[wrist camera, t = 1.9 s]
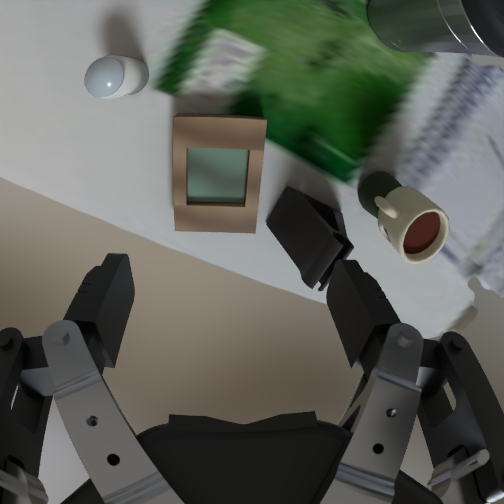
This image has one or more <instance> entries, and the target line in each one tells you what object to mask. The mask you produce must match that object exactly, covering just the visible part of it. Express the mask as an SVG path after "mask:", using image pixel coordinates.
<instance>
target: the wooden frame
mask: <svg viewBox="0 0 504 504" xmlns="http://www.w3.org/2000/svg"><path fill="white" fill-rule="evenodd" d="M266 125H267V120H266V119H265V118H264V117H257V116H242V115H221V114H177V115H176V116H174V117H173V193H174V221H175V231H193V232H230V233H255V231H256V222H257V212H258V202H259V193H260V183H261V173H262V164H263V154H264V144H265V135H266Z"/></svg>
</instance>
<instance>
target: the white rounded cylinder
mask: <svg viewBox="0 0 504 504" xmlns="http://www.w3.org/2000/svg"><path fill="white" fill-rule="evenodd" d="M148 79H149V70H148V67H147V66H146V64H145V63H144V62H143V61H141V60H138V59H134V58H129V57H123V56H118V55H109V56H105V57H103V58H100V59H97V60H96V61H94V62H93V63H92V64H91V65H90V66H89V68H88V69H87V71H86V74H85V80H84V81H85V87H86V89H87V91H88V92H89V93H90V94H91V95H93V96H95V97H98V98H101V99H112V98H116V97H121V96H127V95H132V94H135V93H138V92H139V91H141V90H142V89H143V88H144V87H145V85H146V84H147V82H148Z"/></svg>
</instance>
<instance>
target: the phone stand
mask: <svg viewBox="0 0 504 504" xmlns="http://www.w3.org/2000/svg"><path fill="white" fill-rule="evenodd" d="M266 225H267V226H268V228H269V229H270V230H271V232H272V233H273V234H274V236H275V237H276V238H277V240H278V241H279V243H280V244H281V245H282V247H283V248H284V249H285V251H286V252H287V253H288V255H289V256H290V258H291V259H292V260H293V262H294V263H295V264H296V266H297V267H298V269H299V271H300V273H301V278H302V280H303V282H304V283H305V284H306V285H307V286H308V287H310V288H311V289H313V288H314V286H315V285H316V283H317V282H318V281H319V282H320V283H321V286H320V287H319V289H318V290H319V291H323V289H324V288H325V287H326V286H327V284H328V283H329V282H330V279H331V276H332V272H333V269H334V265H335V263H336V261H337V260H346V258H347V257H348V255H349V254H350V253H351V251H352V250H353V248H354V246H353V244H352V243H351V242H350V241H349V239H348V237H347V234H346V229H345V224H344V219H343V215H342V213H341V212H340V211H338V210H336V209H334V208H332V207H330V206H328V205H326V204H324V203H322V202H320V201H318V200H315V199H314V198H312V197H310V196H308V195H305V194H303V193H301V192H299V191H297V190H295V189H293V188H290V187H288V186H287V188H286V190H285V191H284V193H283V195H282V197H281V198H280V200H279V202H278V204H277V206H276V207H275V209H274V211H273V213H272V215H271V216H270V218H269V220H268V222H267V224H266Z"/></svg>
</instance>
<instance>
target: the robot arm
mask: <svg viewBox="0 0 504 504" xmlns="http://www.w3.org/2000/svg"><path fill="white" fill-rule="evenodd" d="M367 13H368V19H369V22H370V25H371V27H372V29H373V31H374V33H375V34H376V35H377V36H378V38H379V39H380V40H381V41H382V42H383V43H384V44H386V45H387V46H389V47H390V48H392V49H394V50H397V51H400V52H450V53H467V54H478V55H488V56H496V57H503V58H504V0H370V2H369V5H368V12H367ZM134 295H135V289H134V282H133V277H132V272H131V267H130V261H129V257H128V255H127V254H115V253H108V254H107V256H106V258H105V259H104V261H103V263H102V265H101V266H95V267H94V268H93V269H92V270H91V271H89V272H88V273H87V274H86V276H85V278H84V280H83V282H82V285H80V287H79V289H78V293H76V295H75V297H74V299H73V301H72V302H71V305H70V306H69V308H68V310H67V313H66V314H65V317H64V319H63V320H60V321H57V322H55V323H53V324H51V325H50V326H49V327H48V328H47V329H46V330H45V331H44V333H43V336H38V337H30V338H24V337H23V336H22V334H21V332H20V331H19V330H18V329H16V328H5V329H3V330H1V331H0V504H47V503H48V496H47V494H46V491H45V488H44V486H43V484H42V482H41V481H40V480H39V479H38V475H39V466H40V459H41V452H42V446H43V440H44V435H45V430H46V425H47V420H48V415H49V411H50V406H51V402H52V398H53V395H54V399H55V402H56V405H57V407H58V409H59V413H60V415H61V418H62V420H63V423H64V425H65V427H66V430H67V432H68V434H69V437H70V439H71V441H72V443H73V445H74V447H75V450H76V451H77V454H78V456H79V458H80V459H81V462H82V463H83V465H84V467H85V469H86V471H87V473H88V475H89V477H90V478H89V479H88V480H87V481H86V482H85V483H84V484H83V485H81V486H80V487H79V488H78V489H77V490H76V491H74V492H73V493H72V494H71V495H70V496H69V497H68V498H66V499H65V500H64V501H63V502H62V503H60V504H490V503H493V502H495V501H497V500H499V499H501V498H504V414H503V411H502V409H501V407H500V404H499V402H498V400H497V398H496V396H495V394H494V391H493V389H492V387H491V385H490V383H489V381H488V380H487V377H486V375H485V373H484V371H483V369H482V367H481V365H480V363H479V362H478V360H477V358H476V356H475V354H474V353H473V351H472V349H471V347H470V345H469V344H468V342H467V341H466V339H465V338H464V337H463V336H461V335H460V334H458V333H456V332H451V331H450V332H446V333H444V334H443V336H442V337H441V339H440V340H439V341H434V340H429V339H423V338H422V336H421V334H420V332H419V331H418V330H417V329H415V328H414V327H413V326H411V325H408V324H405V323H401V321H400V319H399V318H398V316H397V314H396V312H395V311H394V309H393V307H392V306H391V304H390V302H389V300H388V299H387V298H386V295H385V294H384V292H383V291H382V289H381V287H380V286H379V284H378V282H377V281H376V280H375V279H374V278H373V277H372V276H371V275H369V274H368V273H367V272H363V270H362V268H361V267H360V265H359V263H358V262H357V261H356V260H337V261H336V263H335V265H334V269H333V272H332V276H331V279H330V282H329V286H328V289H327V296H326V298H327V305H328V307H329V310H330V312H331V315H332V317H333V320H334V323H335V326H336V328H337V331H338V333H339V336H340V339H341V341H342V344H343V347H344V350H345V352H346V355H347V358H348V361H349V363H350V366H351V368H359V367H362V368H363V371H364V372H363V374H362V376H361V378H360V380H359V382H358V385H357V387H356V389H355V392H354V394H353V396H352V399H351V401H350V403H349V405H348V407H347V409H346V411H345V413H344V415H343V417H342V418H341V420H340V421H339V423H338V425H335V424H332V423H329V422H325V421H321V420H317V418H316V414H315V411H311V412H303V413H293V414H292V413H291V414H281V415H277V416H274V417H271V418H267V419H264V420H260V421H257V422H253V423H249V424H237V423H232V422H228V421H223V420H219V419H215V418H211V417H206V416H187V415H186V416H185V415H169V423H167V424H162V425H158V426H154V427H152V428H149V429H147V430H145V431H143V432H141V433H140V434H138V435H137V434H136V433H135V431H134V430H133V428H132V427H131V425H130V423H129V422H128V420H127V419H126V417H125V415H124V414H123V412H122V410H121V409H120V407H119V405H118V404H117V402H116V400H115V398H114V397H113V395H112V393H111V391H110V389H109V387H108V385H107V384H106V382H105V380H104V378H103V376H102V374H103V370H104V367H110V368H115V364H116V360H117V356H118V353H119V349H120V345H121V342H122V338H123V334H124V331H125V328H126V324H127V321H128V318H129V314H130V311H131V308H132V305H133V302H134ZM447 382H448V383H449V385H450V387H451V389H452V392H453V394H454V396H455V399H456V408H455V410H454V411H453V410H452V407H451V405H450V402H449V400H448V397H447V395H446V393H445V390H444V388H443V386H444V385H445V384H446V383H447ZM17 386H18V390H17V394H16V397H15V400H14V403H13V407H12V410H11V403H12V399H13V396H14V393H15V390H16V387H17ZM416 414H417V415H418V418H419V421H420V424H421V427H422V431H423V434H424V437H425V440H426V443H427V447H428V450H429V453H430V457H431V460H432V464H433V468H434V470H433V472H432V476H431V479H430V480H429V481H428V483H427V488H426V487H424V486H423V485H422V484H420V483H419V482H417V481H416V480H414V479H413V478H411V477H410V476H408V475H407V474H405V473H404V472H403V471H401V470H400V466H401V463H402V460H403V458H404V455H405V452H406V449H407V446H408V442H409V439H410V435H411V432H412V429H413V425H414V421H415V417H416Z"/></svg>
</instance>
